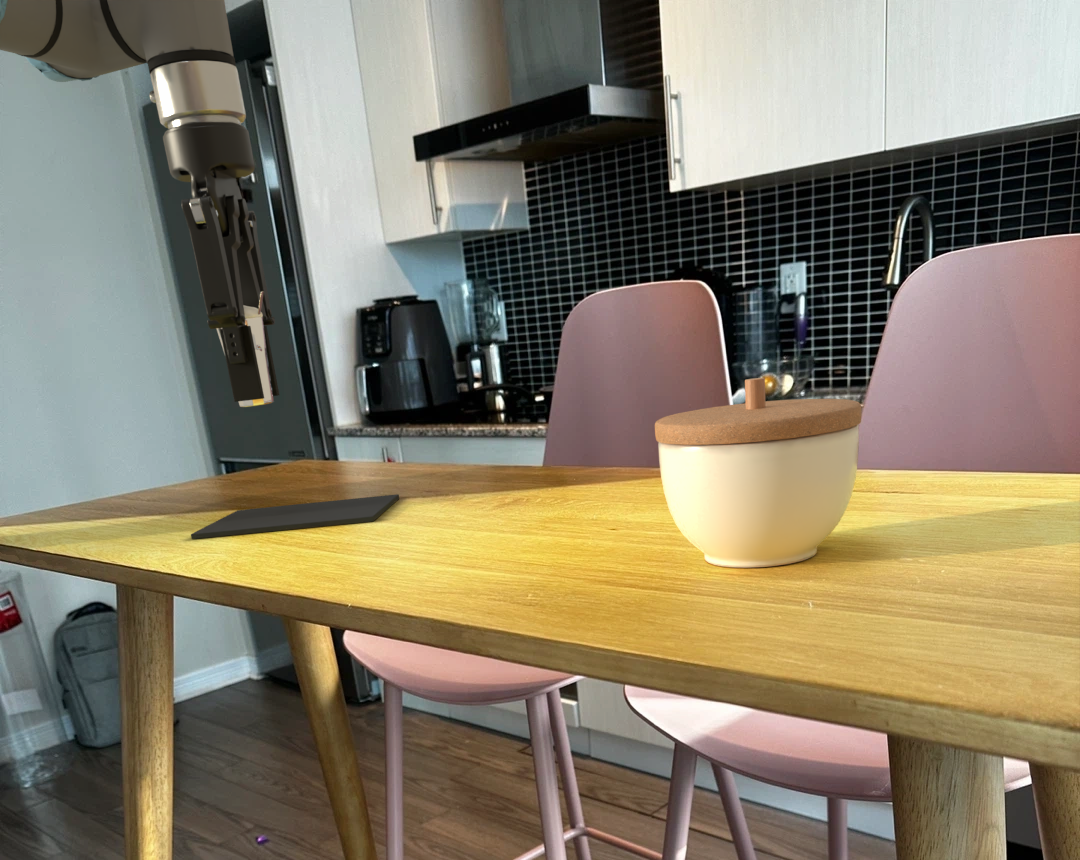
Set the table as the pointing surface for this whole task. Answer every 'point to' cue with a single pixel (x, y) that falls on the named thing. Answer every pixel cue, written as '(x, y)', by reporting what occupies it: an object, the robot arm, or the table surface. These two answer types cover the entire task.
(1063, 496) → the table surface
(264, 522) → the mat
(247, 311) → the milkshake
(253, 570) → the table surface
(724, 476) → the lidded bowl
